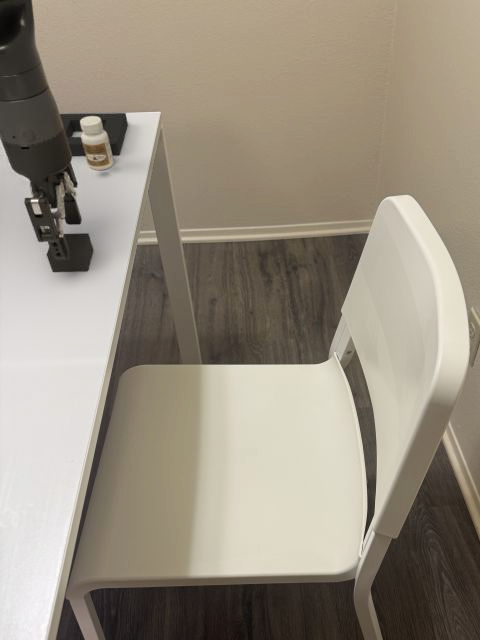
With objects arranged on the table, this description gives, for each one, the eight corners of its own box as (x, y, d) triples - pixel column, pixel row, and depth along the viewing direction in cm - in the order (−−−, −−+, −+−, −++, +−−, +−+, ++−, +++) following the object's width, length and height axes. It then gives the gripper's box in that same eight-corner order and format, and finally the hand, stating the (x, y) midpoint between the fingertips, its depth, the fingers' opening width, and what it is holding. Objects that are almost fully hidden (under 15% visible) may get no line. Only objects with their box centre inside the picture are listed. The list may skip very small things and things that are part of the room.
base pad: (45, 156, 108) (42, 144, 107) (59, 125, 116) (55, 113, 114) (119, 155, 109) (116, 143, 107) (128, 124, 117) (125, 112, 115)
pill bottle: (86, 170, 105) (74, 126, 99) (91, 158, 108) (79, 114, 102) (111, 170, 105) (101, 126, 100) (116, 158, 108) (106, 114, 102)
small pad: (52, 272, 87) (46, 254, 85) (59, 251, 90) (53, 233, 88) (87, 271, 87) (82, 253, 85) (93, 250, 90) (88, 233, 88)
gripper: (13, 102, 78) (52, 213, 91) (-18, 157, 69) (30, 272, 81) (72, 100, 79) (103, 211, 91) (49, 155, 69) (87, 270, 82)
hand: (69, 240), depth 86 cm, fingers open, 8 cm apart
